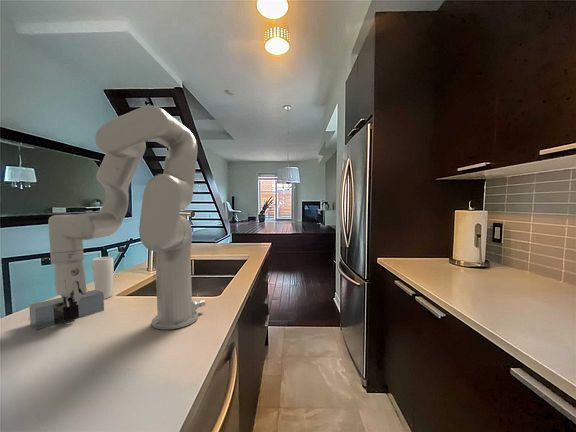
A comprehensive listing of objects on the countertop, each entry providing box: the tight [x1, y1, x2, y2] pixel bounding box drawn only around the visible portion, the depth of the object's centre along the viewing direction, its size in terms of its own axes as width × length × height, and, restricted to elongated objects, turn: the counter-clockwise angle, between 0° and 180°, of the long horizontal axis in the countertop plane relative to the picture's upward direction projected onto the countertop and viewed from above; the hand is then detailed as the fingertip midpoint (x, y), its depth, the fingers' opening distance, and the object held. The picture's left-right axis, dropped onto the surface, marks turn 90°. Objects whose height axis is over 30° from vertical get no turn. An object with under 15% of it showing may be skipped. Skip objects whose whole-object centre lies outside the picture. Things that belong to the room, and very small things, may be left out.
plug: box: [54, 306, 76, 324], centre depth 87 cm, size 4×17×4 cm, turn 58°
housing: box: [28, 289, 105, 331], centre depth 86 cm, size 17×6×6 cm, turn 145°
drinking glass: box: [91, 256, 115, 300], centre depth 105 cm, size 7×7×15 cm
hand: (71, 318), depth 81 cm, fingers closed
